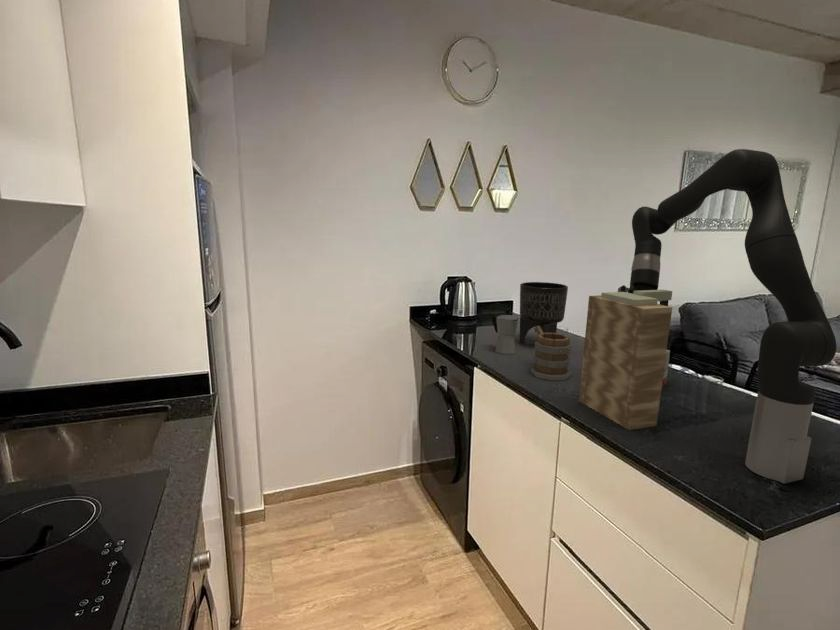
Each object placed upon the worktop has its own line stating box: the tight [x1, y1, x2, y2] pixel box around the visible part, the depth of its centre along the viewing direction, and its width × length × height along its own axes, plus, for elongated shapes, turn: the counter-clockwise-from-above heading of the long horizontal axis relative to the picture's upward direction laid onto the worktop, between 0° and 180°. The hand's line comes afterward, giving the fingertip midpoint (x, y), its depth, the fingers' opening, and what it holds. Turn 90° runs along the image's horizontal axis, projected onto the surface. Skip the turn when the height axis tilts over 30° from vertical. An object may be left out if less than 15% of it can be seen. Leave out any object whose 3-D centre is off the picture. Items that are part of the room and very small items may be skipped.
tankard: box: [530, 326, 572, 382], centre depth 161 cm, size 20×13×15 cm, turn 9°
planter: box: [519, 281, 569, 344], centre depth 194 cm, size 20×20×26 cm
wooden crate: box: [578, 294, 673, 431], centre depth 124 cm, size 20×9×32 cm, turn 19°
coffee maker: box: [491, 308, 520, 356], centre depth 185 cm, size 15×9×18 cm, turn 34°
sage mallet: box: [600, 289, 673, 306], centre depth 123 cm, size 12×17×2 cm
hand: (639, 325), depth 130 cm, fingers open, 8 cm apart
